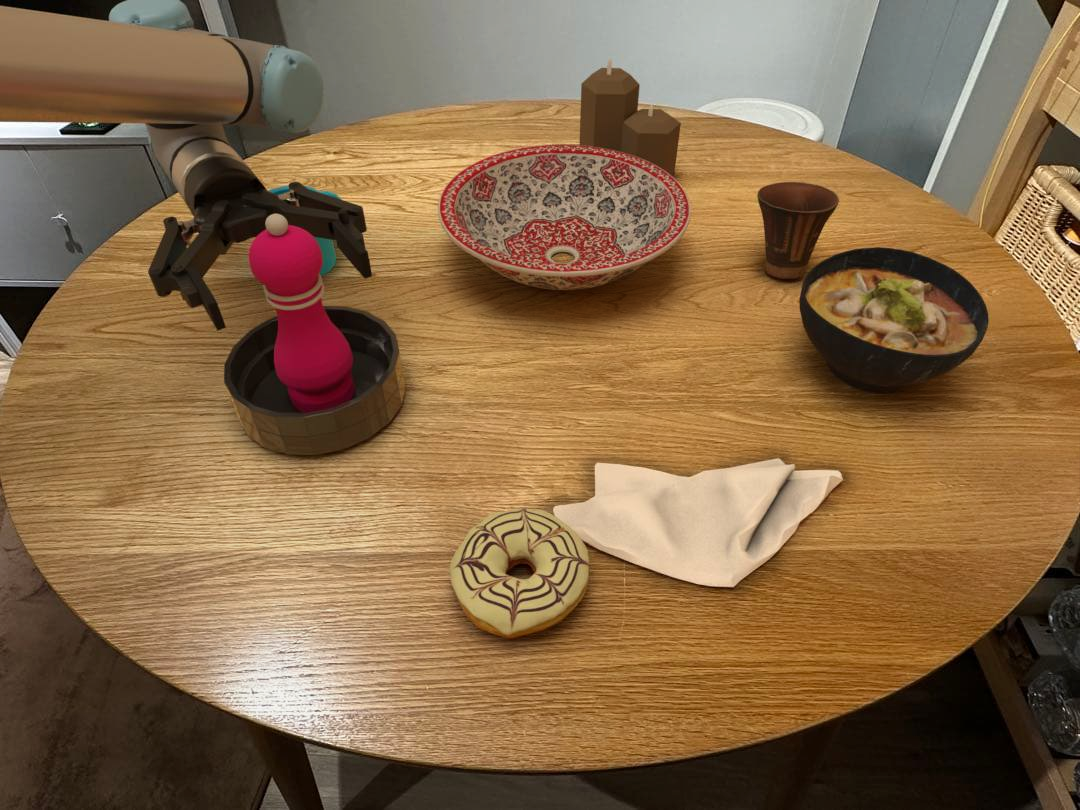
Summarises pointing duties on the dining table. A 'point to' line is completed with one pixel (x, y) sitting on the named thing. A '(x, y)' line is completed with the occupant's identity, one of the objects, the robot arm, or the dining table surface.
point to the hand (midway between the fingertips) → (294, 290)
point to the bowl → (890, 317)
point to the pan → (325, 430)
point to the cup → (793, 224)
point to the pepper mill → (301, 317)
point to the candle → (626, 120)
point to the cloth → (698, 516)
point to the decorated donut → (509, 599)
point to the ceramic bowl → (564, 214)
